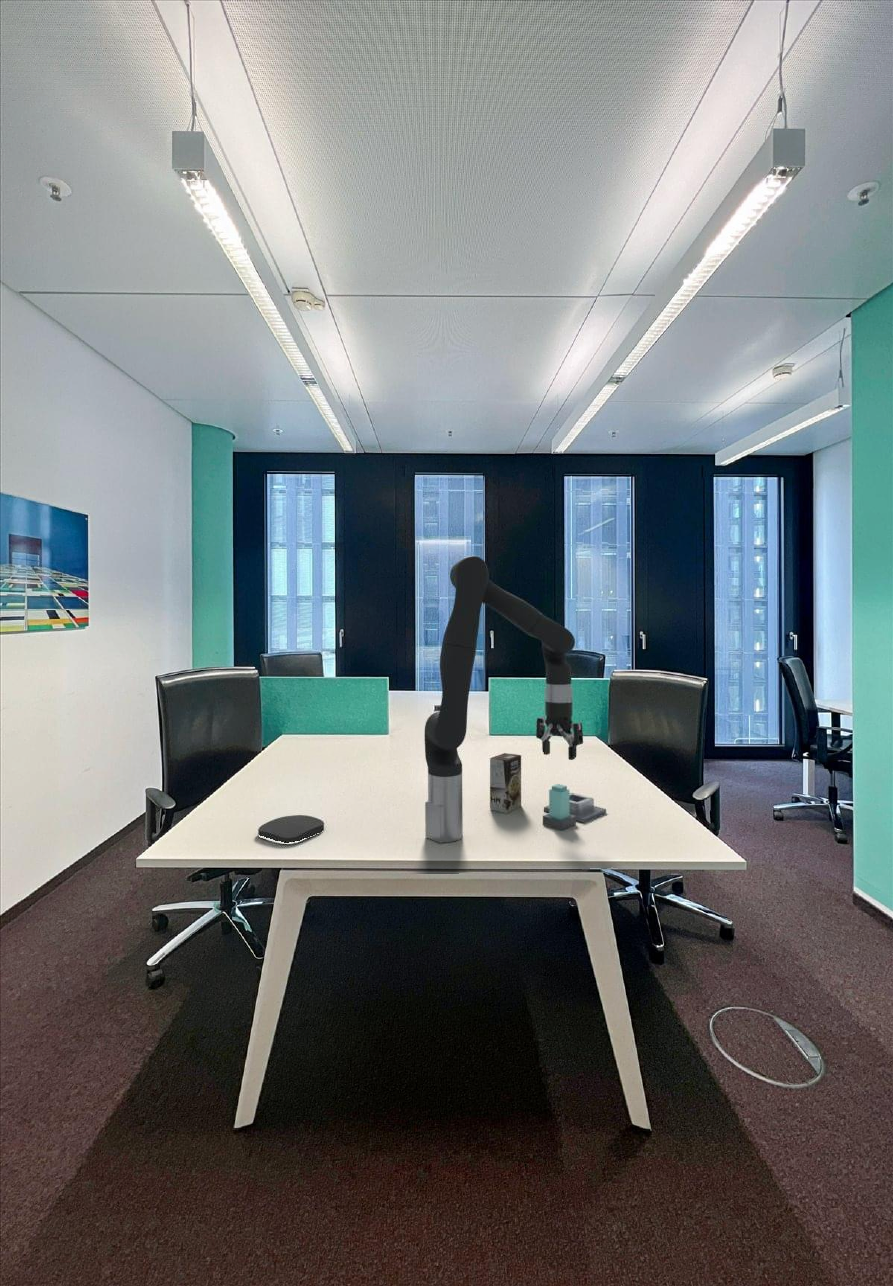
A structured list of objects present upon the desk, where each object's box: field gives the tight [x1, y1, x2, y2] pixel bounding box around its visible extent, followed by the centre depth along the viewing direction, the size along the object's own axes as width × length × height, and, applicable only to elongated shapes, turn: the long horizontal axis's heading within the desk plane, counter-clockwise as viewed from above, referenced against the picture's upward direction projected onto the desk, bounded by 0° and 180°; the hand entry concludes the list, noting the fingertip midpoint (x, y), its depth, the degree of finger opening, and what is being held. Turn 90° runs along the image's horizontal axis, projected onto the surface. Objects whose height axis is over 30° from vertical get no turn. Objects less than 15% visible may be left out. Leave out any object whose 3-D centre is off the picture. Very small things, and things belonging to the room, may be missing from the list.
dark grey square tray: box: [542, 813, 577, 832], centre depth 152 cm, size 7×7×2 cm
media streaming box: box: [257, 814, 325, 843], centre depth 148 cm, size 15×15×3 cm
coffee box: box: [489, 752, 522, 814], centre depth 167 cm, size 9×6×16 cm
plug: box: [548, 783, 570, 820], centre depth 152 cm, size 4×4×11 cm
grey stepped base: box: [543, 792, 607, 824], centre depth 163 cm, size 12×14×4 cm
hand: (559, 756), depth 152 cm, fingers open, 8 cm apart
